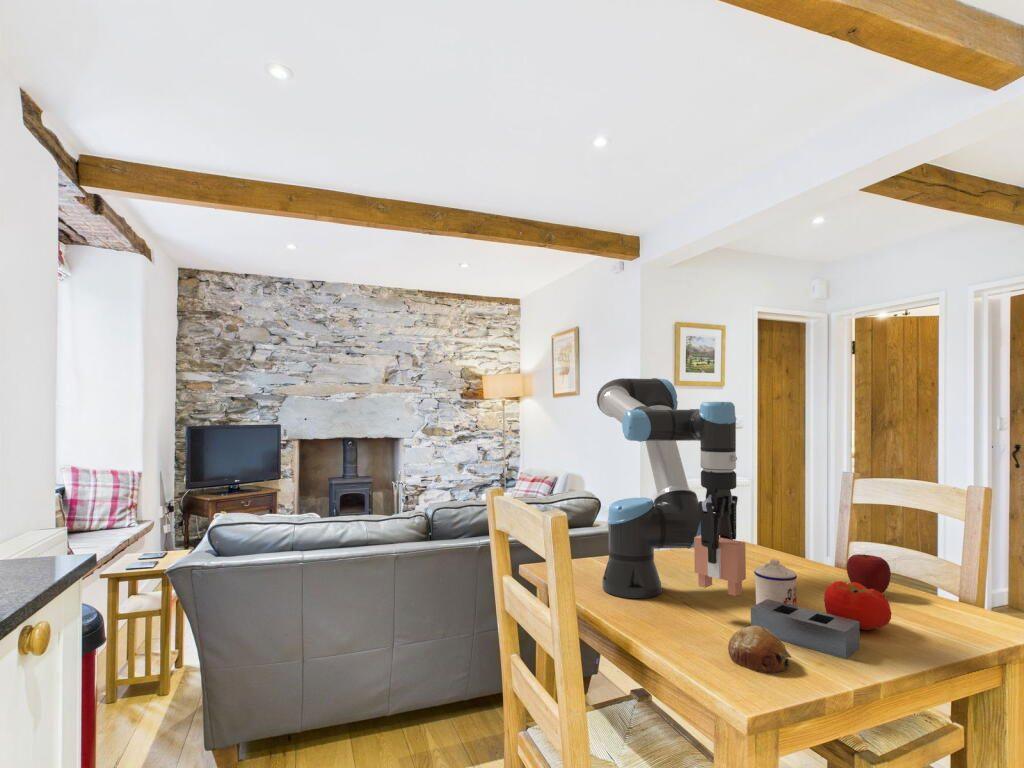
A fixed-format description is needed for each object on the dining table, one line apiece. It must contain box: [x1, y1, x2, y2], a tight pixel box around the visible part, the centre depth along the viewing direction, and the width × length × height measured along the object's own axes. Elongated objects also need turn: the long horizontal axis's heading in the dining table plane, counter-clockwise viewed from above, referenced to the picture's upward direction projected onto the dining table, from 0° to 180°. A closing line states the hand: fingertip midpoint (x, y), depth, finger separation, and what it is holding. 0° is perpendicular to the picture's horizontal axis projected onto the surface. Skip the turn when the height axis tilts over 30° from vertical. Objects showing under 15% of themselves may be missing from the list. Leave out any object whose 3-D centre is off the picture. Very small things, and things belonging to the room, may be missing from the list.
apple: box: [846, 553, 892, 594], centre depth 142 cm, size 10×10×10 cm
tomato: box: [823, 580, 892, 631], centre depth 120 cm, size 14×13×9 cm
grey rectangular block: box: [750, 599, 861, 660], centre depth 114 cm, size 18×8×5 cm, turn 42°
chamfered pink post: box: [693, 535, 747, 597], centre depth 125 cm, size 10×4×11 cm, turn 42°
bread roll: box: [727, 625, 792, 674], centre depth 104 cm, size 10×10×8 cm
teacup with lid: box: [753, 558, 798, 606], centre depth 131 cm, size 12×9×12 cm
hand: (719, 574), depth 125 cm, fingers closed on chamfered pink post, 4 cm apart
